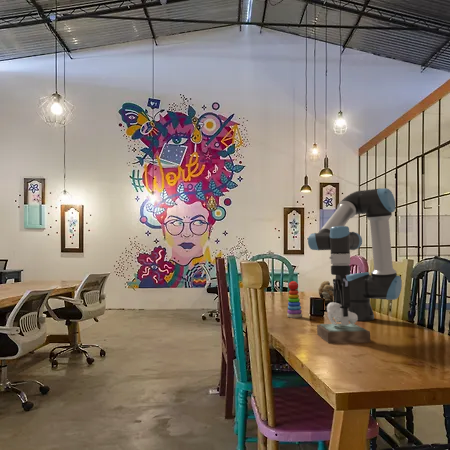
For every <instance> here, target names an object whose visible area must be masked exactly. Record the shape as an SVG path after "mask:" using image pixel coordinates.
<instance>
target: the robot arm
mask: <svg viewBox="0 0 450 450" xmlns="http://www.w3.org/2000/svg"><path fill="white" fill-rule="evenodd" d="M396 206H397V205H396V200H395V196H394V194H393V192H392V190H390V189H389V188H385V187H384V188H383V187H382V188H372V189H364V190H363V189H362V190H357V191H353V192H351V193H350V194H348V195H347V196H345V197H344V198H342V199H341V200H340V202H339V203H337V206H336V210H335V211H334V213H332V215H331V216H330V217H329V218H328V220H327V221H326V222H325V223H324V225H323V226H322V227H321V228H320V230H319V231H318V232H314V233H310V234H309V235H308V237H307V245H308V248H309V249H310V250H312V251H330V256H329V260H330V264H331V266H330V273H331V276H332V275H333V276H335V278H333V279H332V284H333V285H332V286H333V292H334V296H333V302H335V303H339V304H340V305H342V306H340V308H341V321H339V322H337V321H336V320H335V322H336V323H340V324H341V325H349V324H350V321H349V315H348V311H350V312H353V313H355V314H356V315H357V317H358V320H357V321H356V322H359V321H363V322H364V321H365V322H367V321H373V320H375V312H374V310H373V308H372V305H371V299H375V300H387V301H389V300H390V301H391V300H392V301H393V300H394V301H395V300H397V299H398V298H399V297H400V294H401V291H402V284H403V282H402V277H401V276H400V275H397V271H396V270H395V268H394V267H393V256H392V255H393V254H392V244H391V242H392V241H391V232H390V231H391V230H390V221H389V220H390V219H391V217H392V215H393V214H392V213H394V212H395V211H396ZM362 214H363V215H365V216H366V219H368V220H369V224H370V235H371V236H370V237H371V247H372V249H371V250H372V258H373V259H372V261H373V269H372V271H371V272H368V271H367V272H365V271H364V272H358V273H357V272H356V273H352V272H351V271H352V270H351V265H350V264H351V251H355V250H358V249H360V248H361V246H362V244H363V238H362V236H361V235H360V234H359V233H357V232H355V231H350V228H349V226H346V224H347V223H348V221H349V220H350V219H352V218H354V217H355V216H356V215H362Z"/></svg>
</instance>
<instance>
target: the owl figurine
mask: <svg viewBox="0 0 450 450" xmlns="http://www.w3.org/2000/svg"><path fill="white" fill-rule="evenodd" d="M318 296H319V298H320V299H321V298H324V299H325V311H324V312H327V306H328V304H329V303H331V302H333V301H334V292H333V285H331V282H330V281H328V280H325V281H322V282H321V284H320V286H319V288H318Z"/></svg>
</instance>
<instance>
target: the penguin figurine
mask: <svg viewBox="0 0 450 450" xmlns="http://www.w3.org/2000/svg"><path fill="white" fill-rule="evenodd" d="M340 306H342V305H340V304H339V303H335V302H331V303H329V304H328V306H327V311H326V312H327V318H328V320H329V321H330V324H333V325H337V324H338V323H340V322H339V321H341V308H340ZM348 315H349V324H356V323H357V322H358V321H357V320H358V317H357V315H356V314H355V313H353V312H350V311H348ZM336 321H337V322H336Z"/></svg>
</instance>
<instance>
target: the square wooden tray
mask: <svg viewBox="0 0 450 450" xmlns="http://www.w3.org/2000/svg"><path fill="white" fill-rule="evenodd" d="M316 334H317V335H318V337H320V338H321V339H323V341H325V343H327V344H343V343H344V344H346V343H348V344H351V343H352V344H353V343H354V344H355V343H371V330H370V331H369V330H368V329H365V328H363V327H362V326H360V325H357V324H356V323H355V324H350V323H349V325H341V323H337V325H333V324H332V323H320V324H317V325H316Z"/></svg>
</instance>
